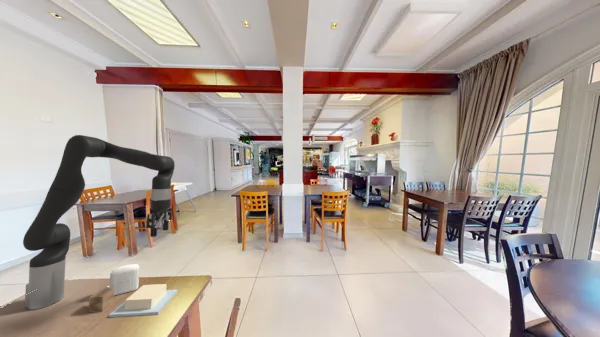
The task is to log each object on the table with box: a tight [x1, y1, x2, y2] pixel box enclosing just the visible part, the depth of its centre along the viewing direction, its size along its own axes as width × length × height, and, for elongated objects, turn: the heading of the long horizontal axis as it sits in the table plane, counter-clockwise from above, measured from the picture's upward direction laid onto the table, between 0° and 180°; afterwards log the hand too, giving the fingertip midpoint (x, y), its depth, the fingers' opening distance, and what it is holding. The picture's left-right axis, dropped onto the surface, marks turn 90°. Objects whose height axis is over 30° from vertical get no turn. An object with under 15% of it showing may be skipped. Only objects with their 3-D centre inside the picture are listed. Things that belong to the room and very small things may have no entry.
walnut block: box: [88, 288, 115, 313], centre depth 76 cm, size 5×5×6 cm
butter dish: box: [108, 283, 179, 318], centre depth 79 cm, size 18×14×5 cm
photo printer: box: [109, 263, 140, 296], centre depth 87 cm, size 10×4×12 cm, turn 123°
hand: (159, 233), depth 84 cm, fingers open, 8 cm apart
